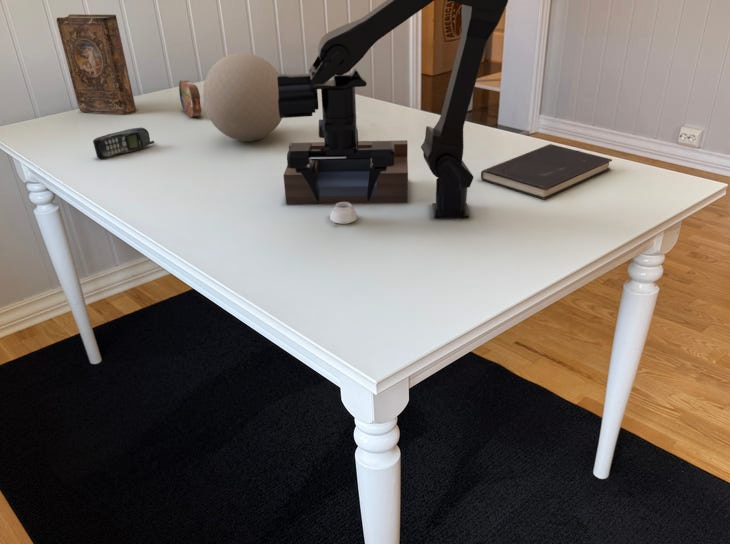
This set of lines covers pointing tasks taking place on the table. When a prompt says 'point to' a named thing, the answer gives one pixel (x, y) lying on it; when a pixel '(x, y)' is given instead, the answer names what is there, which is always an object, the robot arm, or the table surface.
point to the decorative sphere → (242, 96)
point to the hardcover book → (546, 171)
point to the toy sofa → (351, 179)
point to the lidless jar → (343, 213)
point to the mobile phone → (121, 142)
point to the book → (97, 63)
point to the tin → (190, 98)
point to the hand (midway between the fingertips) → (343, 200)
